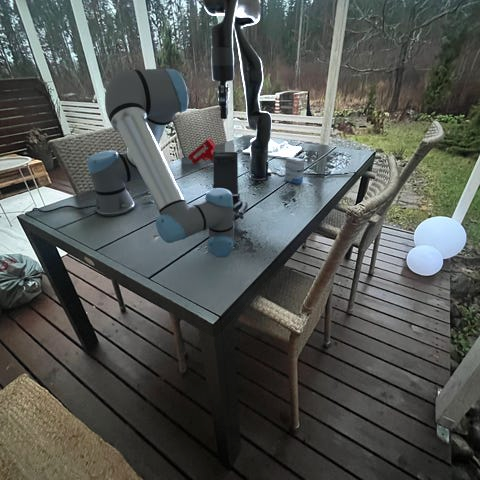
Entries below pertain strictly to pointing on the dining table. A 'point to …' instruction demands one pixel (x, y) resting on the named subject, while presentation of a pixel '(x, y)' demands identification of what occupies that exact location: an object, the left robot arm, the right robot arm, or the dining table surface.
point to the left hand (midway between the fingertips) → (226, 196)
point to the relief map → (280, 150)
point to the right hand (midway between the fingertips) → (224, 117)
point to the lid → (226, 171)
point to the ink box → (294, 170)
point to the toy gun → (203, 152)
